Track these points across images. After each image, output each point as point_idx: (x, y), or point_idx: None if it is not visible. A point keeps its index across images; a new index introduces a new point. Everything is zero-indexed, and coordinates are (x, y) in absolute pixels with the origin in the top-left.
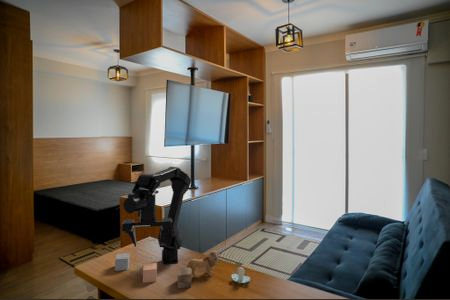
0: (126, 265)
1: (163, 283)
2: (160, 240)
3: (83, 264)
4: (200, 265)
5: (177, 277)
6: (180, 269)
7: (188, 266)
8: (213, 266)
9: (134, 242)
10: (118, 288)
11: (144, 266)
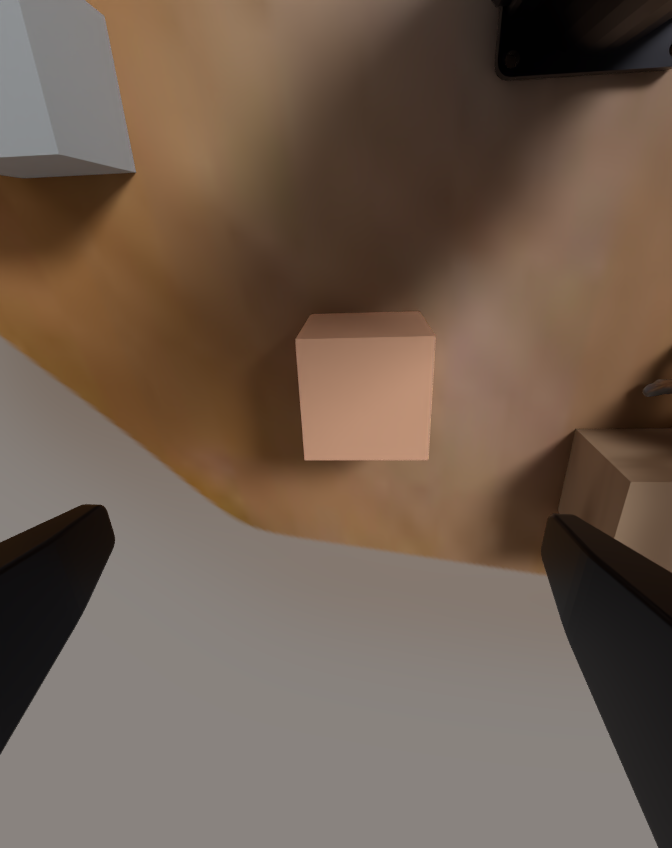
0: (97, 167)
1: (466, 445)
2: (613, 699)
3: None
4: None
5: (588, 449)
6: (653, 500)
7: None
8: None
9: (40, 656)
10: (168, 455)
11: (308, 394)
